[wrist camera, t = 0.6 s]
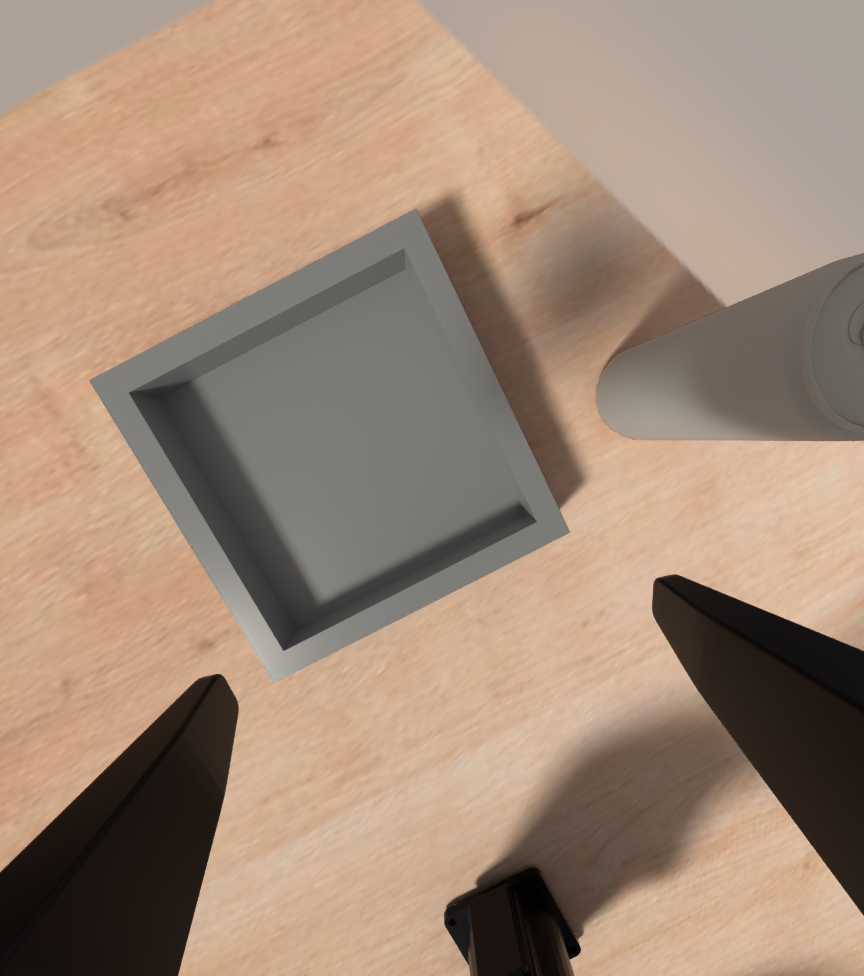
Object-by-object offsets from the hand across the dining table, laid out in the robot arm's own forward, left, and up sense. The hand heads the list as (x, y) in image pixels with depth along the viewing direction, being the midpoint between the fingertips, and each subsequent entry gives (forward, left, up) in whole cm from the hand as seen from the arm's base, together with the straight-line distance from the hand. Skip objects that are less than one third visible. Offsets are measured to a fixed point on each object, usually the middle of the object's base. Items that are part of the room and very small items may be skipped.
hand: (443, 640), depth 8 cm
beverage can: (+1, -13, -14) cm, 19 cm away
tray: (+5, +2, -14) cm, 15 cm away
